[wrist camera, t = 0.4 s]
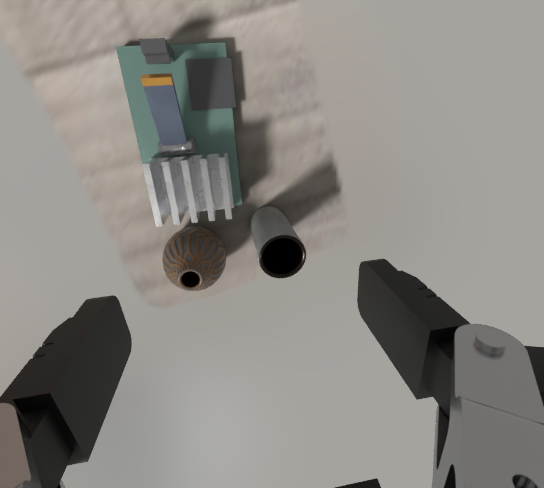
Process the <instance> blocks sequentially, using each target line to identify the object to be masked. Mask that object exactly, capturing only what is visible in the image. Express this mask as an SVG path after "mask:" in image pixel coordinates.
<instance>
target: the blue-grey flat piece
mask: <svg viewBox="0 0 544 488" xmlns="http://www.w3.org/2000/svg"><path fill="white" fill-rule="evenodd" d="M141 82H142V85H143V88H144V91H145V94H146V97H147V100H148V104H149V107H150V110H151V113H152V116H153V119H154V122H155V125H156V129H157V132H158V135H159V138H160V141H161V142H158V150H159V153H160V155H165V154H178V153H191V152H194V150H193V143H192V140H187V137H186V132H185V128H184V124H183V120H182V115H181V111H180V107H179V103H178V98H177V94H176V90H175V86H174V82H173V77H172V73H168V74H147V75H141Z"/></svg>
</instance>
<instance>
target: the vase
mask: <svg viewBox="0 0 544 488" xmlns="http://www.w3.org/2000/svg"><path fill="white" fill-rule="evenodd" d="M225 264H226V252H225V248H224V245H223V243H222V241H221V240H220V238H219V237H218V236H217V235H216V234H215V233H214V232H212V231H211V230H209V229H207V228H204V227H198V226H193V227H187V228H184V229H182V230H180V231H178V232H177V233H175V234H174V235H173V236H172V237H171V238H170V240H169V241H168V243H167V244H166V246H165V249H164V252H163V267H164V270H165V273H166V275H167V277H168V278H169V280H170V281H171V282H172V283H173V284H174V285H176V286H177V287H179V288H181V289H184V290H188V291H199V290H203V289H206V288H208V287H210V286H211V285H213V284H214V283H215V282H216V281H217V280H218V279H219V277H220V276H221V274H222V273H223V270H224V268H225Z"/></svg>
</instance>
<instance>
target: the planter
mask: <svg viewBox="0 0 544 488" xmlns="http://www.w3.org/2000/svg"><path fill="white" fill-rule="evenodd" d="M250 226H251V231H252V236H253V240H254V244H255V248H256V252H257V256H258V260H259V264H260V266H261V268H262V270H263V271H264V272H265V273H266V274H268V275H269V276H271V277H275V278H287V277H290V276H292V275H294V274H296V273H297V272H298V271H299V270H300V269H301V268H302V266H303V265H304V262H305V259H306V250H305V247H304V245H303V243H302V242H301V240H300V239H299V237H298V235H297V234H296V232H295V231H294V229H293V228H292V226H291V225H290V223H289V221H288V220H287V218H286V217H285V215H284V214H283V213H282V212H281V211H280V210H279V209H278V208H276V207H272V206H265V207H262V208H260V209H258V210H257V211H256V212H255V213H254V214H253V216H252V218H251V222H250Z"/></svg>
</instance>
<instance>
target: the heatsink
mask: <svg viewBox="0 0 544 488" xmlns="http://www.w3.org/2000/svg"><path fill="white" fill-rule="evenodd" d="M187 140H192V143H193V150H194V152H191V153H195V152H197V148H196V141H195V138H187ZM158 142H161V141H160V140H159V141H158ZM178 154H183V153H178ZM165 155H170V154H165ZM142 166H143V170H144V175H145V179H146V184H147V188H148V192H149V197H150V201H151V205H152V210H153V214H154V219H155V223H156V227H159V226H163V225H164V223H165V221H166V220H167V218H168V216H169V215H170V214H172V217H173V222H174V225H178V224H181V222H182V219H183V217H184V215H185V213H190V216H191V222H192V223H197V222H198V220H199V216H200V213H201V211H208V218H209V221H215V217H216V210H220V209H225V215H226V219H232V210H231V208H234V203H233V195H232V186H231V178H230V169H229V161H228V152H223V153H210V154H197V155H185V156H172V157H160V158H151V159H149V161H147V162H145V163H143V164H142Z"/></svg>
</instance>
